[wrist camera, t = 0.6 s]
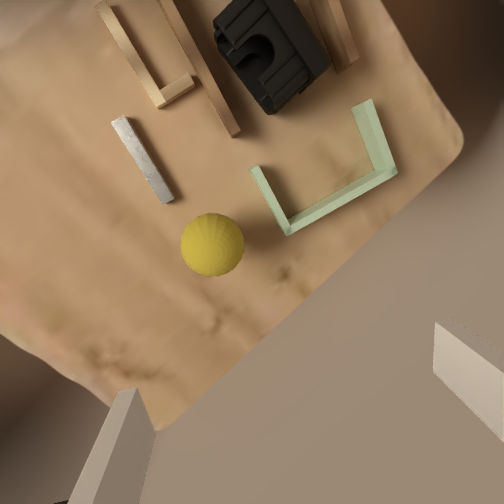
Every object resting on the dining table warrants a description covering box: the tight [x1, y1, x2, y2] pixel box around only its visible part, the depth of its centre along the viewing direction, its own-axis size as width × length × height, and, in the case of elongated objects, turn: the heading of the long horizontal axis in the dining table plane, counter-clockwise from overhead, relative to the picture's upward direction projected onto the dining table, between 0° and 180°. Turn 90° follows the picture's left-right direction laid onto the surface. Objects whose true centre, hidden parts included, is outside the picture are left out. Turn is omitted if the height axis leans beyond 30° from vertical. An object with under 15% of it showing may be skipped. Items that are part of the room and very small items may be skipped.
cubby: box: [157, 0, 360, 138], centre depth 28 cm, size 16×15×4 cm
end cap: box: [213, 0, 332, 115], centre depth 27 cm, size 10×7×7 cm
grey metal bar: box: [111, 116, 176, 205], centre depth 32 cm, size 10×2×2 cm, turn 27°
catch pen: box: [249, 98, 398, 236], centre depth 33 cm, size 9×15×3 cm, turn 119°
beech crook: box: [95, 0, 195, 109], centre depth 28 cm, size 10×5×1 cm, turn 29°
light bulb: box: [181, 213, 244, 276], centre depth 31 cm, size 7×7×10 cm
